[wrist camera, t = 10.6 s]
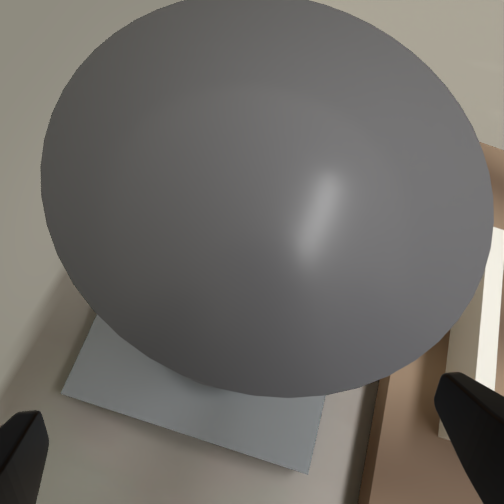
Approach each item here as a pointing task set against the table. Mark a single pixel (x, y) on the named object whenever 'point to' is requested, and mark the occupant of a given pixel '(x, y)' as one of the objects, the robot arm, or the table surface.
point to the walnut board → (424, 415)
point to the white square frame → (479, 325)
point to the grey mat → (192, 402)
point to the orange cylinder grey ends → (267, 196)
